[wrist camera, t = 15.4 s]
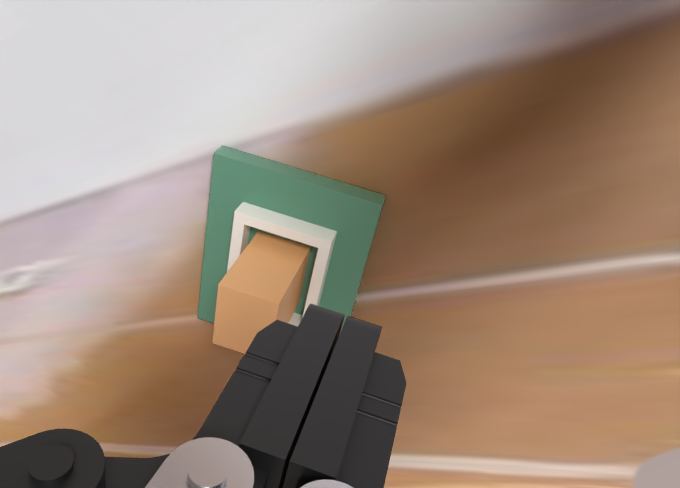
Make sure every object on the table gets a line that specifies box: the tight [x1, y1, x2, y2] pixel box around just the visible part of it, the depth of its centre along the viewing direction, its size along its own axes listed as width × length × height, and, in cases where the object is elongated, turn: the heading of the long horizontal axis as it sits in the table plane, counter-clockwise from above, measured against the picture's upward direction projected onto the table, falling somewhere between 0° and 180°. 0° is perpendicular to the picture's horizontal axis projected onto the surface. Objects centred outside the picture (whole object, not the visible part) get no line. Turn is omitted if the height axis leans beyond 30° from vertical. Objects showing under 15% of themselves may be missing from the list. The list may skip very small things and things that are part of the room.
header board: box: [198, 146, 386, 333], centre depth 43 cm, size 12×15×3 cm
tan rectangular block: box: [212, 231, 311, 354], centre depth 40 cm, size 4×6×7 cm
